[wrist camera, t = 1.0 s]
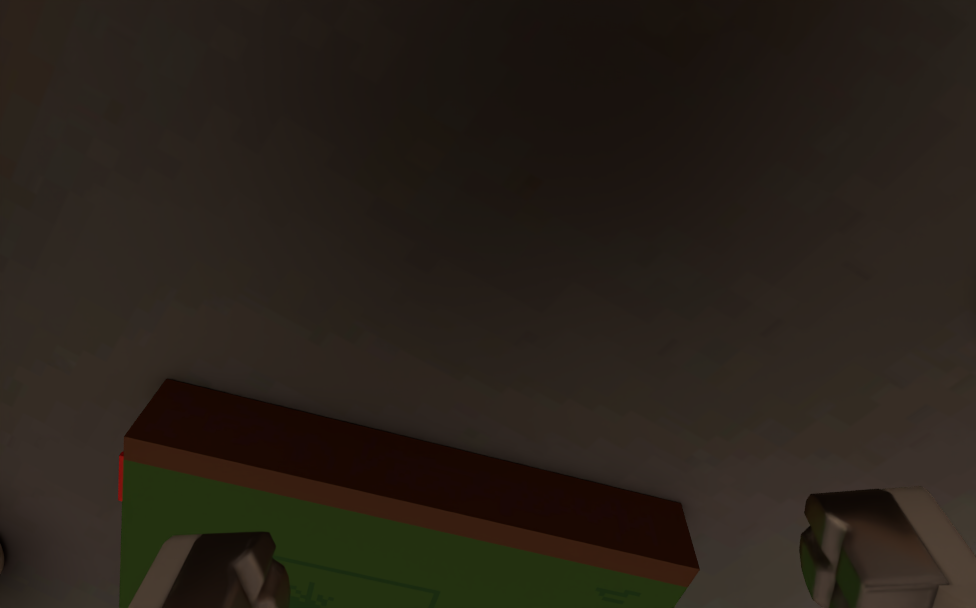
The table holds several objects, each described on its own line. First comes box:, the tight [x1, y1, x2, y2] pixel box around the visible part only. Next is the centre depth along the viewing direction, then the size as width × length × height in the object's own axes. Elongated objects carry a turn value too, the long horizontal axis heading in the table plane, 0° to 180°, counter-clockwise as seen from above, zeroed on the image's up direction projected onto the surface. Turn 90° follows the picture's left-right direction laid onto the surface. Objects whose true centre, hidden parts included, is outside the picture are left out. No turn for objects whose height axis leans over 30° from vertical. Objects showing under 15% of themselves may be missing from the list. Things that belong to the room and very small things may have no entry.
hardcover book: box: [118, 379, 700, 608], centre depth 34 cm, size 25×19×4 cm
